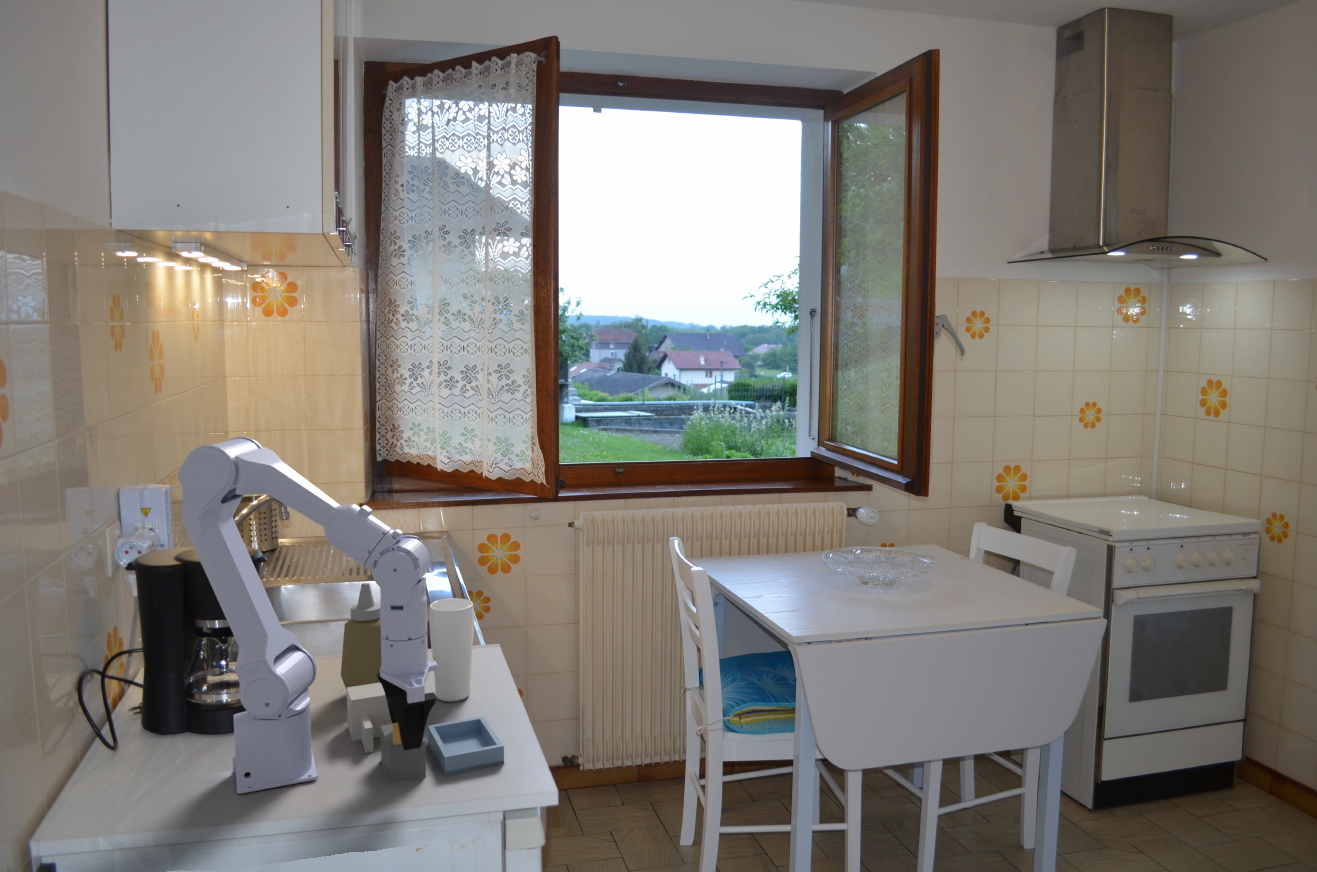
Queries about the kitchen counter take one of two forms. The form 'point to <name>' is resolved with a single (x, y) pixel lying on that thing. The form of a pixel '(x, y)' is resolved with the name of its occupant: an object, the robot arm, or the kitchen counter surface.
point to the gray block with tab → (400, 756)
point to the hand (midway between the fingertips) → (406, 735)
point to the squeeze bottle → (362, 642)
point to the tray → (465, 745)
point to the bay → (367, 713)
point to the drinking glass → (452, 647)
